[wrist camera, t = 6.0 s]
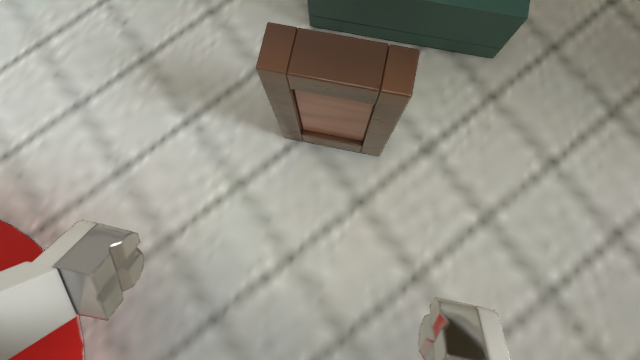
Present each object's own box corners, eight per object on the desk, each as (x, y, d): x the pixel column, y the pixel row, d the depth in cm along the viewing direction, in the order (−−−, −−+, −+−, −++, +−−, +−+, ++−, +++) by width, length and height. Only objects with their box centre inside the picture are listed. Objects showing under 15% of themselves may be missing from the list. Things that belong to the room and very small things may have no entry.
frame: (379, 156, 22) (412, 97, 13) (284, 137, 23) (255, 68, 14) (385, 126, 23) (420, 48, 14) (291, 108, 23) (267, 21, 14)
